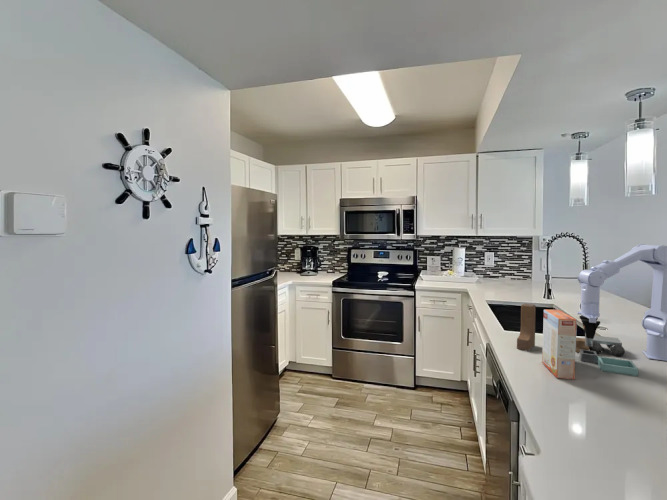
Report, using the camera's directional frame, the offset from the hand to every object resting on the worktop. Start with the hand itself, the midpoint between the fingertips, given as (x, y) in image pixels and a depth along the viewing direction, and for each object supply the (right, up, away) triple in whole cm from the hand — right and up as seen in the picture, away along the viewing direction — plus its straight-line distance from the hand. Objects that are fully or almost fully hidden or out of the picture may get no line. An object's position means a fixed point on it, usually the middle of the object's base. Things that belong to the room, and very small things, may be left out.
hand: (589, 336), depth 133 cm
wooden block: (-16, -9, +16) cm, 24 cm away
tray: (+4, -10, -8) cm, 13 cm away
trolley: (+13, -8, +9) cm, 18 cm away
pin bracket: (0, -9, +1) cm, 9 cm away
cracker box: (-17, -10, -8) cm, 22 cm away
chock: (+4, -9, +10) cm, 13 cm away
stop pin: (0, -3, 0) cm, 3 cm away
